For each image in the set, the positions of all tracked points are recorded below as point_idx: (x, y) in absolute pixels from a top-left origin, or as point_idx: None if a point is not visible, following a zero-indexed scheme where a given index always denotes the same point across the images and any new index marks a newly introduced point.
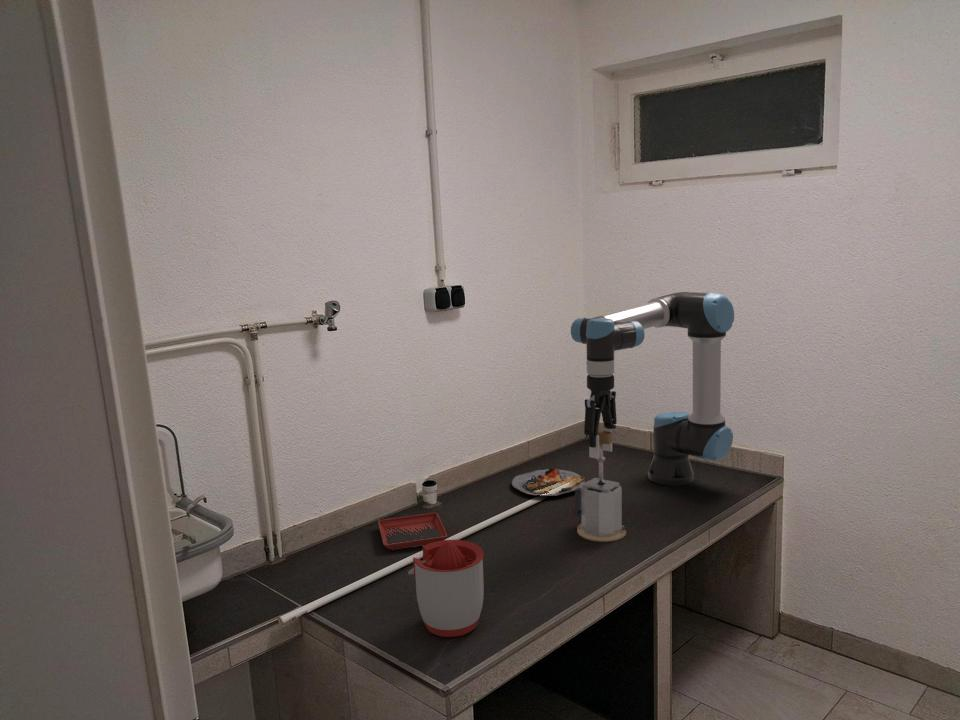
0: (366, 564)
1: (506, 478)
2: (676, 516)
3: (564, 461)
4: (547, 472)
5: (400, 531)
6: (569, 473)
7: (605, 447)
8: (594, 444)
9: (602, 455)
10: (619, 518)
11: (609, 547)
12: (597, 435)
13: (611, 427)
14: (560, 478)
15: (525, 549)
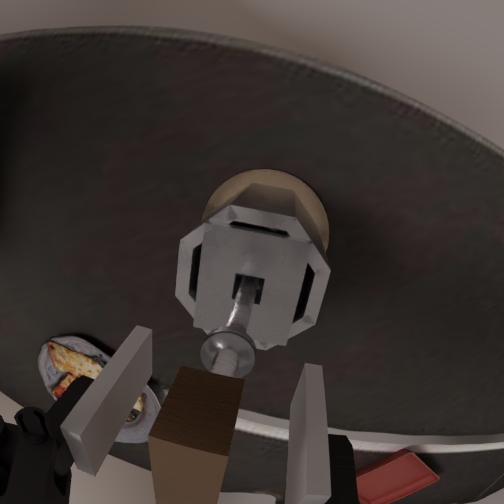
0: (463, 465)
1: (116, 445)
2: (100, 97)
3: (12, 378)
4: None
5: (375, 489)
6: (45, 368)
7: (144, 372)
8: (342, 452)
9: (229, 358)
10: (261, 190)
11: (347, 186)
12: (306, 500)
13: (54, 439)
14: (67, 379)
15: (406, 347)
